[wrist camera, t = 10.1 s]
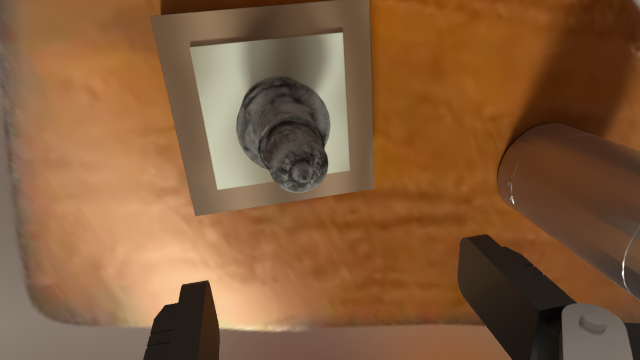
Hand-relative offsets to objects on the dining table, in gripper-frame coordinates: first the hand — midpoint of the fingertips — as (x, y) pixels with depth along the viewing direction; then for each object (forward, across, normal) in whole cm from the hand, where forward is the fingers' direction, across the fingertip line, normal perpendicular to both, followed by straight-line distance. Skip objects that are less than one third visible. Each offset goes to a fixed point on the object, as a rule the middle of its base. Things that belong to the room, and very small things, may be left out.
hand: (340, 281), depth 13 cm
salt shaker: (+18, 0, -1) cm, 18 cm away
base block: (+22, 0, -1) cm, 22 cm away
